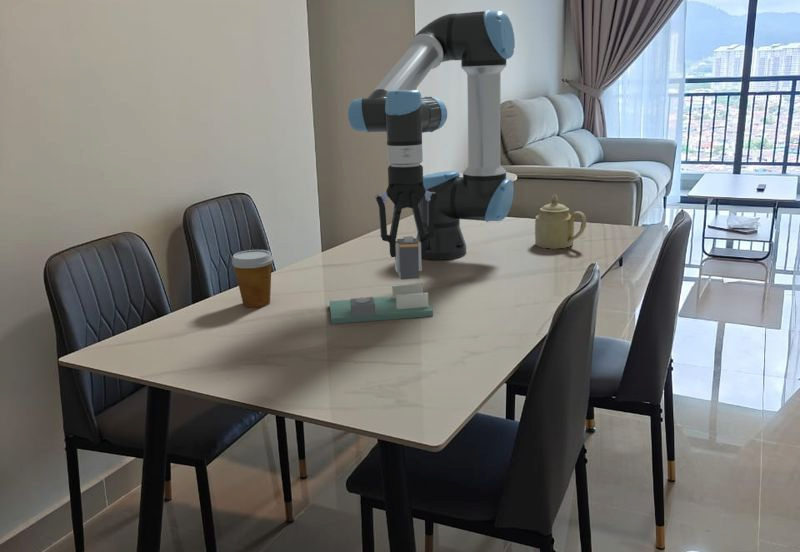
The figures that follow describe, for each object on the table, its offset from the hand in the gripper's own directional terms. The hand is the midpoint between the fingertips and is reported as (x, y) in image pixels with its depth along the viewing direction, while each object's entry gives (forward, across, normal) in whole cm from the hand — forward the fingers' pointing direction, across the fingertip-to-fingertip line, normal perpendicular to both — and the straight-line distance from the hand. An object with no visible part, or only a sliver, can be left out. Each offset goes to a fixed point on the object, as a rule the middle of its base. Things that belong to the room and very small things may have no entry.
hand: (408, 269), depth 159 cm
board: (+9, -7, -1) cm, 11 cm away
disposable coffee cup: (+9, -35, +11) cm, 38 cm away
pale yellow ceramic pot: (+8, +51, +45) cm, 69 cm away
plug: (+1, 0, 0) cm, 1 cm away
